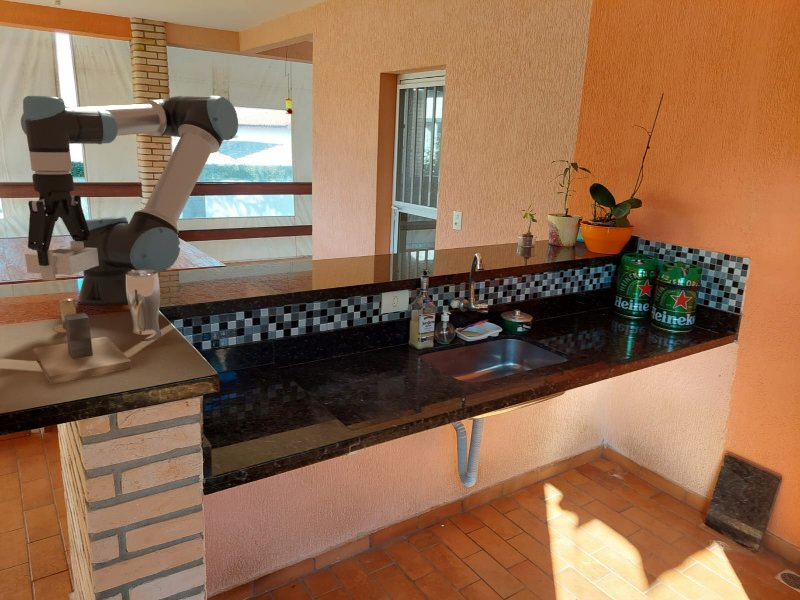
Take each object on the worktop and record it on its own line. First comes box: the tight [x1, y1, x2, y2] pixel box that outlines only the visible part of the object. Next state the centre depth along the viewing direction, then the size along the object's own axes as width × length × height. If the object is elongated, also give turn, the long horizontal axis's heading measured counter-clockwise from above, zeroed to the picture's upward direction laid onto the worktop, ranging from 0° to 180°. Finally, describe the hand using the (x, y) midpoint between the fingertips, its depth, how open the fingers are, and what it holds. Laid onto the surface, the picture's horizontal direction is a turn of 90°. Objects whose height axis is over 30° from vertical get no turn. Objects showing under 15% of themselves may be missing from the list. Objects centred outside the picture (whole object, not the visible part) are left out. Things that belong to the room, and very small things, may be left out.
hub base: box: [32, 312, 132, 385], centre depth 117 cm, size 14×18×10 cm
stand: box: [52, 297, 77, 333], centre depth 134 cm, size 7×7×8 cm
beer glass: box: [126, 270, 162, 342], centre depth 133 cm, size 7×7×15 cm
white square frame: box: [24, 245, 99, 276], centre depth 131 cm, size 10×10×4 cm
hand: (65, 274), depth 131 cm, fingers closed on white square frame, 10 cm apart
